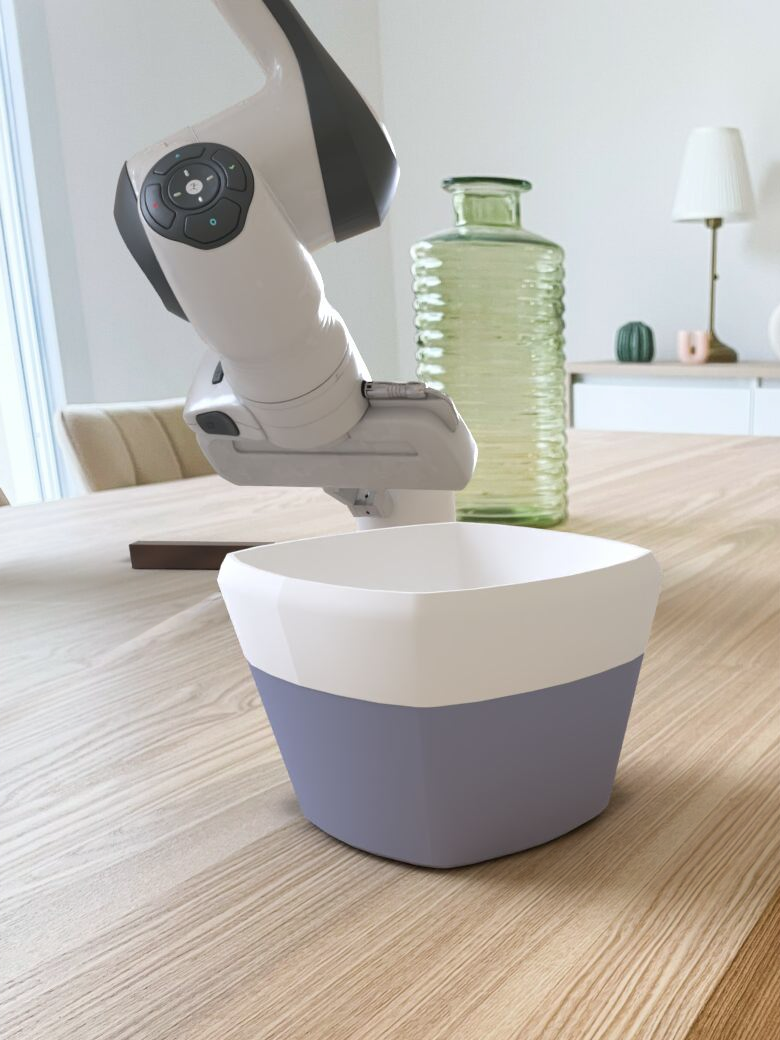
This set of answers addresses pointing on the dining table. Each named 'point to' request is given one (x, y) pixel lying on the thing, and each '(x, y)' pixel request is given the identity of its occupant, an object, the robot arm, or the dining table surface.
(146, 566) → the walnut stick
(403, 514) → the beverage can
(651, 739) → the dining table surface
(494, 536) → the bowl
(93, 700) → the dining table surface
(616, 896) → the dining table surface
